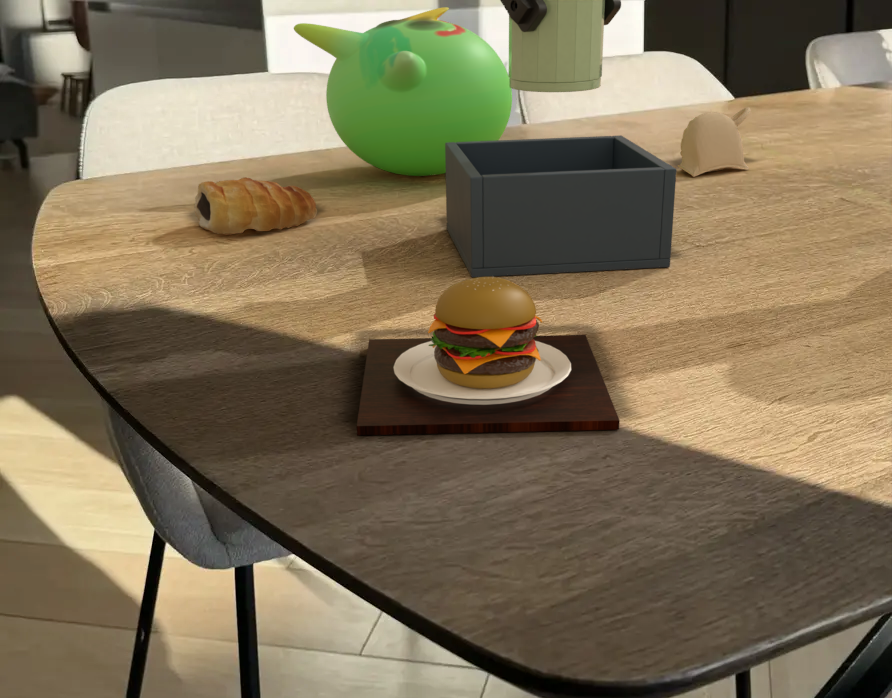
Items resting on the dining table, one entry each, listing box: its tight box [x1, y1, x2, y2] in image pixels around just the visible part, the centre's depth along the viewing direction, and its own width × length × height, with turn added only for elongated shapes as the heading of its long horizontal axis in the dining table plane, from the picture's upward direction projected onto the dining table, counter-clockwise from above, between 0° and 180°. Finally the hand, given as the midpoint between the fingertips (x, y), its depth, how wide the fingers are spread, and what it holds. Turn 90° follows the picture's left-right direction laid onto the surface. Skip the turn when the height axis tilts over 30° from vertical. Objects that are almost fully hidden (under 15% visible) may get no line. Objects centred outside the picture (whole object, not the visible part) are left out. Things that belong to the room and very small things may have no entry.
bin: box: [445, 135, 677, 278], centre depth 80 cm, size 14×14×7 cm
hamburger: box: [356, 276, 620, 436], centre depth 55 cm, size 12×12×6 cm
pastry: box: [194, 176, 318, 236], centre depth 88 cm, size 9×7×4 cm
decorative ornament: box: [677, 107, 752, 178], centre depth 105 cm, size 4×8×5 cm, turn 116°
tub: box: [508, 0, 605, 93], centre depth 74 cm, size 6×6×8 cm
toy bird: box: [293, 6, 513, 177], centre depth 103 cm, size 18×17×15 cm
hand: (574, 19), depth 73 cm, fingers closed on tub, 6 cm apart
